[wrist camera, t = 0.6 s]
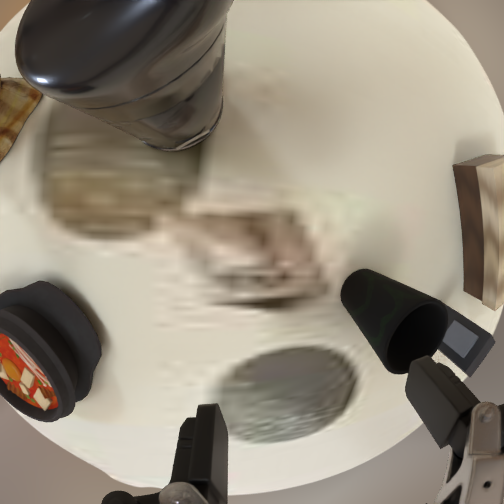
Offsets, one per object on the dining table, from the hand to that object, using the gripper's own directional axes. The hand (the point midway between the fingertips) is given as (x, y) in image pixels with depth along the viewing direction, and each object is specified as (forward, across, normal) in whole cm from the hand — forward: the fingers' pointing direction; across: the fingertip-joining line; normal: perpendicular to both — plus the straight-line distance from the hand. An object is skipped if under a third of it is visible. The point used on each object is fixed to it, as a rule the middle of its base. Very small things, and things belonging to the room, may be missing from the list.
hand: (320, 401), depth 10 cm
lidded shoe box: (+23, -34, +1) cm, 41 cm away
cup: (+21, -10, +6) cm, 25 cm away
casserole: (+18, +33, +7) cm, 38 cm away
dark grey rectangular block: (+22, -23, +14) cm, 35 cm away
